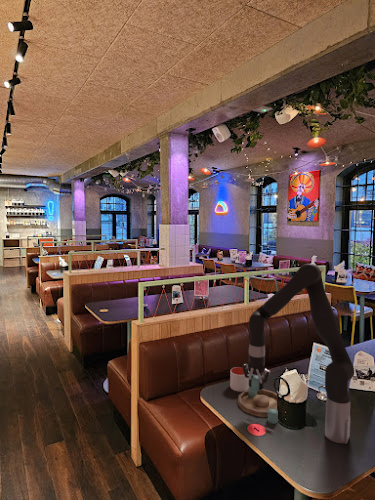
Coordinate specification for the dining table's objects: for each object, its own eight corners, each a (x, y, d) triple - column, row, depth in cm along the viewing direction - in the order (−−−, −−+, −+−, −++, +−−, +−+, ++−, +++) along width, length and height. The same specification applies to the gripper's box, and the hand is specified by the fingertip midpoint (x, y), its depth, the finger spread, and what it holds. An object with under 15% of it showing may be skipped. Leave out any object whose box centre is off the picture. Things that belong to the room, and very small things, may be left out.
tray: (291, 401, 174) (291, 396, 174) (275, 424, 155) (275, 418, 155) (249, 389, 187) (249, 383, 187) (229, 408, 168) (229, 402, 168)
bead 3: (278, 422, 157) (279, 410, 156) (275, 427, 153) (275, 415, 153) (269, 419, 159) (269, 407, 159) (265, 423, 156) (266, 412, 155)
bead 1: (262, 388, 165) (262, 377, 164) (258, 391, 161) (258, 380, 161) (253, 385, 167) (253, 374, 167) (249, 389, 164) (250, 378, 163)
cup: (226, 387, 188) (226, 370, 187) (239, 382, 194) (239, 365, 193) (239, 395, 180) (240, 377, 179) (252, 389, 186) (253, 371, 186)
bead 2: (258, 396, 178) (258, 385, 177) (254, 399, 174) (255, 389, 174) (250, 393, 180) (250, 383, 180) (246, 397, 177) (247, 387, 176)
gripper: (274, 354, 162) (273, 389, 163) (246, 347, 170) (245, 380, 171) (268, 359, 156) (267, 396, 157) (239, 352, 164) (238, 387, 165)
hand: (255, 387), depth 164 cm, fingers closed on bead 1, 4 cm apart
